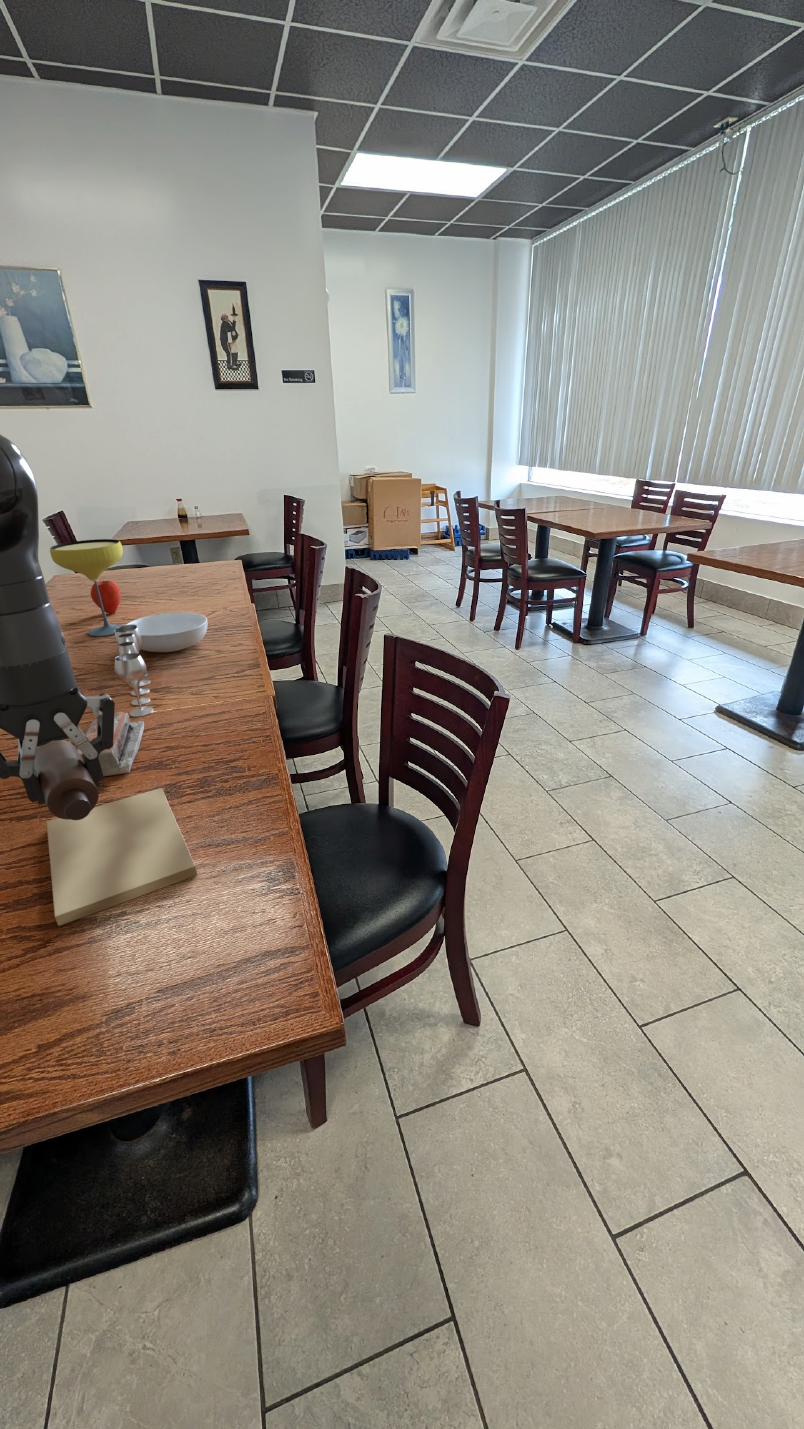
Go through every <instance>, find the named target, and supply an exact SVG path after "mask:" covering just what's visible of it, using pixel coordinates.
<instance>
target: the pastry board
mask: <svg viewBox="0 0 804 1429" xmlns="http://www.w3.org/2000/svg"><path fill="white" fill-rule="evenodd" d="M46 831H47V843H48V844H47V845H48V857H49V866H50V868H49V869H50V878H51V879H50V880H51V887H52V888H51V890H52V900H53V901H52V902H53V914H54V918H55V922H56V925H57V926H58V927H60V926H64V925H65V924H69V923H71V922H74V921H76V920H79V919H82V918H84V917H87V916H90V915H93V914H96V913H98V912H101V911H104V910H107V909H109V908H112V907H114V906H117V905H120V904H122V903H125V902H128V901H131V900H133V899H136V898H139V897H141V896H145V895H147V894H150V893H152V892H155V891H158V890H161V889H163V888H166V887H168V886H172V885H174V884H177V883H180V882H183V881H185V880H188V879H191V878H193V877H196V876H198V871H197V867H196V863H195V861H194V859H193V857H192V854H191V852H190V850H189V847H188V845H187V843H186V840H185V838H184V836H183V834H182V831H181V829H180V827H179V824H178V823H177V820H176V817H175V815H174V813H173V810H172V808H171V806H170V804H169V802H168V799H167V797H166V794H165V792H164V790H163V788H162V787H159V788H156V789H155V788H154V789H151V790H148V791H146V792H142V793H138V794H136V795H135V794H134V795H132V796H127V797H125V798H122V799H121V798H120V799H118V800H114V801H111V802H108V803H105V804H101V805H98V806H97V805H96V806H95V807H94V808H93V809H92V811H90V813H89V814H88V816H86V817H85V818H83V819H81V820H67V819H61V818H58V817H56V818H54V819H50V820H47V821H46Z"/></svg>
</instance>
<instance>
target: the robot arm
mask: <svg viewBox="0 0 804 1429" xmlns="http://www.w3.org/2000/svg"><path fill="white" fill-rule="evenodd" d="M39 527H40V526H39V496H38V488H37V482H36V479H35V475H34V472H33V470H32V467H31V466H30V463H29V462H28V460H27V458H26V457H25V455H24V454H23V452H22V451H21V450H20V448H18V447H17V445H16V444H15V443H13V441H11V440H10V439H9V438H7V437H5V436H4V435H2V434H0V730H2V731H4V732H5V733H7V734H9V735H11V736H13V737H14V738H16V739H18V740H17V741H18V743H17V757H16V760H8V759H7V758H6V756H5V755H4V754H3V753H2V751H1V750H0V779H1V780H6V779H9V778H11V777H12V778H14V777H16V778H19V779H20V780H22V784H23V787H24V790H25V792H26V795H27V798H28V800H29V801H30V802H31V803H35V802H37V803H38V806H39V807H40V806H42V805H47V804H46V801H45V798H44V795H43V793H42V790H41V786H40V783H39V780H38V778H37V775H36V772H35V769H34V759H35V757H36V750H37V748H38V747H39V746H42V745H45V744H47V743H49V742H51V741H56V740H68V739H70V741H71V743H72V744H73V745H74V746H75V747H76V748H77V749H78V748H79V749H80V750H81V752H82V753H83V754H82V757H83V761H84V764H85V766H86V768H87V770H88V772H89V774H90V776H91V778H92V780H93V782H94V784H95V786H96V788H99V787H100V782H102V781H104V777H105V776H103V772H102V769H101V765H100V762H99V758H98V757H99V754H100V753H101V752H102V751H104V750H105V749H110V748H112V746H113V738H114V712H116V711H115V706H116V704H115V701H114V700H113V699H112V697H111V696H110V695H109V694H108V692H101V693H99V694H98V695H95V696H94V695H91V696H88V695H87V696H85V695H84V693H83V692H81V691H80V689H79V687H78V684H77V681H76V676H75V673H74V670H73V665H72V662H71V659H70V655H69V651H68V648H67V645H66V643H67V640H66V637H65V635H64V633H63V631H62V627H61V624H60V621H59V618H58V616H57V614H56V612H55V610H54V607H53V605H52V601H51V599H50V594H49V590H48V588H47V585H46V584H47V583H46V581H45V577H44V573H43V570H42V568H41V565H40V560H39V545H40V529H39ZM87 708H89V709H90V710H91V713H92V714H93V715H94V716H96V717H97V718H96V719H97V737H96V738H94V739H93V740H91V741H90V740H89V739H88V738H87V737H86V735H85V734H86V733H85V732H84V731H83V730H82V729H81V727H80V726H79V724H80V722H81V720H82V717H83V716H84V713H85V712H86V710H87Z"/></svg>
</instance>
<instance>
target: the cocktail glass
mask: <svg viewBox="0 0 804 1429" xmlns="http://www.w3.org/2000/svg"><path fill="white" fill-rule="evenodd" d="M49 553H50V557H51V560H52V562H53V563H54V564H56V565H58V566H59V567H61V568H63V569H66V570H69V571H72V572H75V573H78V574H81V575H83V576H85V577H86V578H87V579H89V581H91V582H93V584H94V583H95V587H96V591H97V595H98V598H99V602H100V606H101V608H100V611H101V614H102V615H101V616H102V620H103V625H101V626H98V627H95V628H92V629H91V630H89V631H88V632H87V635H88V634H89V635H88V636H90V637H94V636H97V637H98V638H100V637H99V636H103V637H110V636H115V629H117V628H118V627H120V626H123V625H124V624H110V623H109V620H108V618H107V615H106V612H105V611H104V608H103V604H102V601H101V597H100V593H99V589H98V585H97V582H98V581H99V580H100V578H101V576H102V574H103V573H104V572H105V571H106V570H107V569H109V568H111V567H113V566H114V565H115V564H116V563H117V562H119V561H120V559H122V557H123V556H124V555H123V554H124V549H123V545H122V543H121V541H120V540H119V539H114V538H113V539H112V538H99V539H85V540H76V541H75V540H74V541H70V542H69V541H68V542H63V543H59V544H56V545H52V546H51V547H49ZM97 637H96V638H97Z"/></svg>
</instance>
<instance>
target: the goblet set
mask: <svg viewBox="0 0 804 1429" xmlns="http://www.w3.org/2000/svg"><path fill="white" fill-rule="evenodd" d="M122 625H123V626H120V627H118V628H117V629H115V635H114V638H115V639H114V640H115V642H116V645H117V647H118V654H119V655H118V656H116V657H114V658H115V659H114V673H115V676H116V677H117V678H118V679H119V680H120V681H122V682H123V683H125V684H127V685H128V686H129V687H131V689H132V691H131V692H130V695H131V696H134V697H136V698H135V699H133V700H132V701H131V702H130V704H131V705H132V706H138V707H136V708H134V709H132V710H130V711H129V713H128V714H129V717H134V718H135V717H136V718H140V717H144V716H145V717H146V716H149V715H150V714H152V713H153V712H154V708H153V707H152V706H142V705H146V704H148V703H149V702H151V698H149V697H142V696H143V695H146V694H148V693H149V692H150V689H149V688H147V687H145V686H148V685H149V684H150V683H151V680H150V679H148V678H146V677H147V676H149V674H150V672H148V671H147V665H146V662H145V660H144V658H143V657H142V655H141V654H140V651H141V650H142V649H141V643H142V641H141V635H140V631H139V629H138V626H137V625H134V624H130V625H126V624H122ZM141 687H143V688H141Z"/></svg>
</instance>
